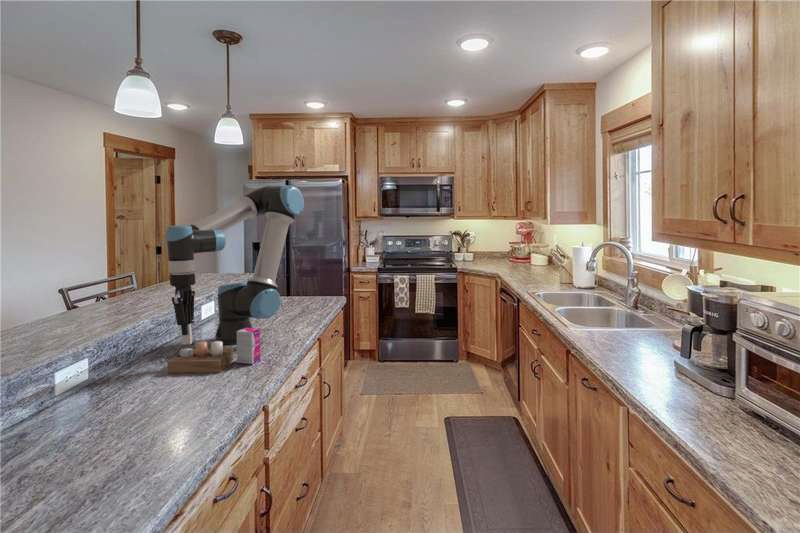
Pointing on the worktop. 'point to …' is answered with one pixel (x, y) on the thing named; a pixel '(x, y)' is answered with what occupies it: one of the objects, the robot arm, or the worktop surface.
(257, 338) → the supplement box
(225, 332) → the robot arm
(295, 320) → the worktop surface
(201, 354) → the brown egg
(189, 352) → the pale blue egg
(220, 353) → the white egg
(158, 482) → the worktop surface
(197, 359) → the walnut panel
